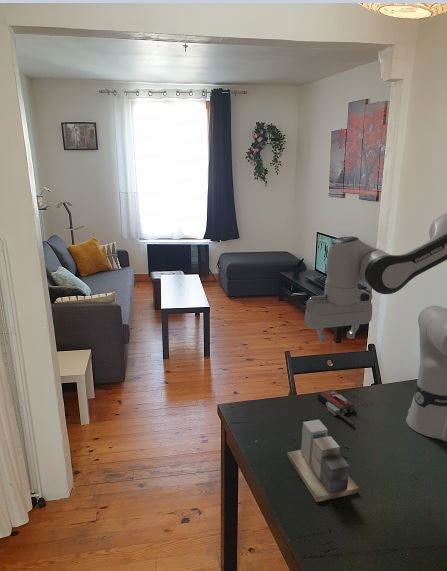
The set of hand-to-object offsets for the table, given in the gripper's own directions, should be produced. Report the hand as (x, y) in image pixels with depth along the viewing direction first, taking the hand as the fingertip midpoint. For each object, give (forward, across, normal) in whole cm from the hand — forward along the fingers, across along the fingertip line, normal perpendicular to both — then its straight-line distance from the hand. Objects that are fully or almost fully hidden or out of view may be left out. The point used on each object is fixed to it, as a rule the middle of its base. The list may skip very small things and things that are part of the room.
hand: (336, 339), depth 123 cm
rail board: (+33, -10, -14) cm, 37 cm away
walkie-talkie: (+34, +12, +13) cm, 38 cm away
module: (+31, -10, -9) cm, 34 cm away
